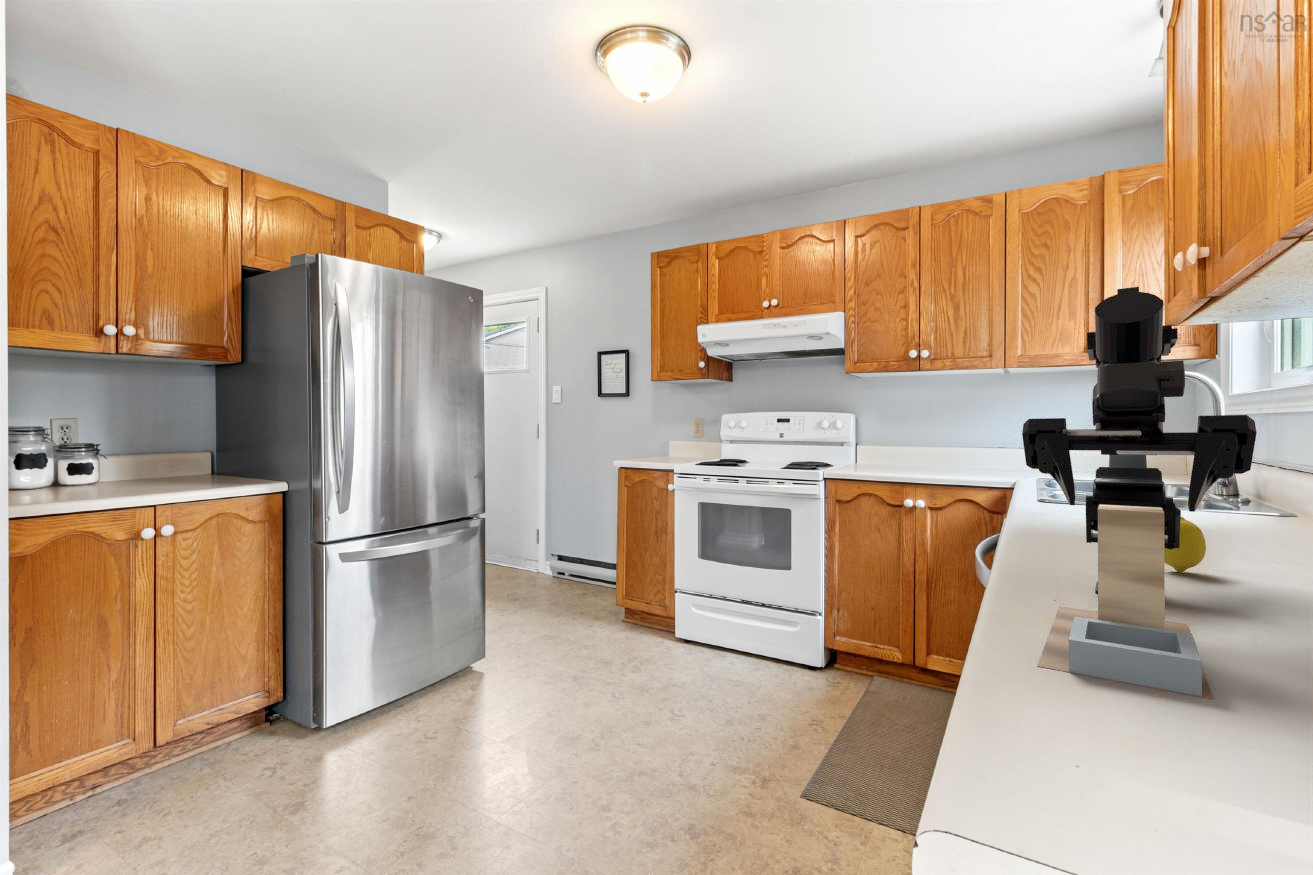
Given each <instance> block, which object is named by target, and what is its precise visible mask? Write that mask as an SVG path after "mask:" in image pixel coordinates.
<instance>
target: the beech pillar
mask: <svg viewBox="0 0 1313 875" xmlns="http://www.w3.org/2000/svg"><path fill="white" fill-rule="evenodd" d="M1097 533H1098V543H1097V581H1098V594H1097V612H1098V620H1103V621H1110V622H1117V623H1124V624H1131V625H1138V626H1145V627H1152V628H1159V629H1165V621H1166V619H1165V618H1166V616H1165V614H1166V613H1165V612H1166V611H1165V610H1166V609H1165V608H1166V606H1165V605H1166V604H1165V595H1166V594H1165V591H1166V588H1165V584H1166V583H1165V577H1166V576H1165V562H1164V511H1163V509H1162V508H1159V507H1139V506H1120V505H1100V504H1099V507H1098V531H1097Z"/></svg>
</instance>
